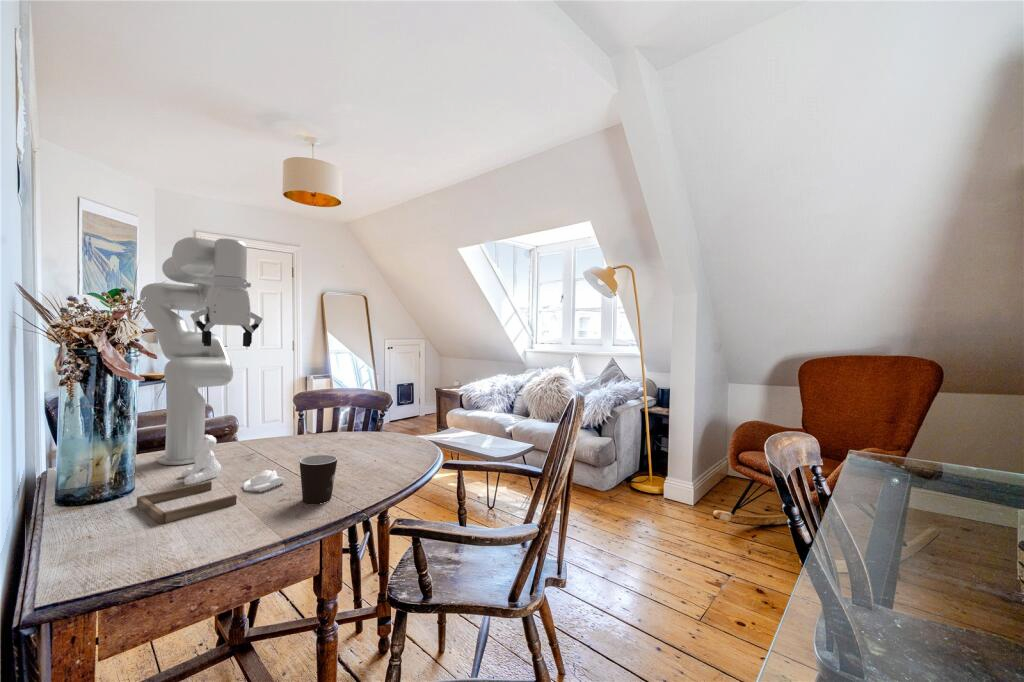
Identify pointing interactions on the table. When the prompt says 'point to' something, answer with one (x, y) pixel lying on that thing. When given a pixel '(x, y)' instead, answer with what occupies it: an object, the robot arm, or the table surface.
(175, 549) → the table surface
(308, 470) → the coffee mug
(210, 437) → the seated beast figurine
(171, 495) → the walnut bay
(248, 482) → the rose
